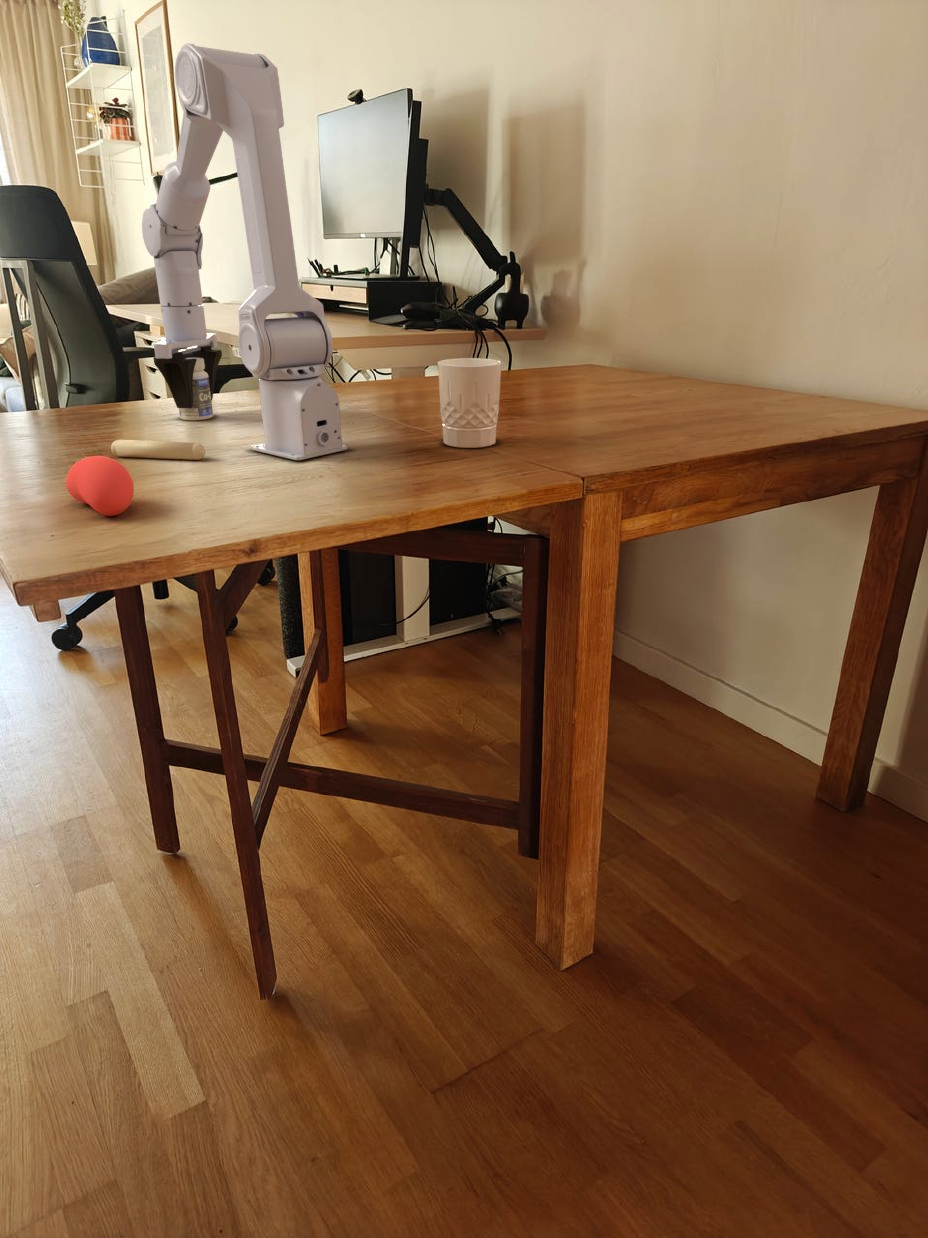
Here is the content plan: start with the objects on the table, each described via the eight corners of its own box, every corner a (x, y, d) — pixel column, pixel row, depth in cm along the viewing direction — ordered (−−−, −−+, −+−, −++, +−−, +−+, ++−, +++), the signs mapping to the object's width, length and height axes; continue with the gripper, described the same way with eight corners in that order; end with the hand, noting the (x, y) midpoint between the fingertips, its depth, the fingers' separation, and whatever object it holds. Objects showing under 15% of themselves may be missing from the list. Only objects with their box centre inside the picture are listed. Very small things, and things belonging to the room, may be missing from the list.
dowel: (208, 460, 100) (208, 443, 99) (200, 460, 98) (200, 442, 97) (117, 456, 102) (116, 439, 101) (107, 456, 100) (107, 439, 99)
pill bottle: (208, 420, 121) (200, 360, 117) (175, 420, 121) (167, 360, 118) (217, 414, 125) (210, 356, 122) (186, 414, 125) (178, 356, 122)
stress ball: (139, 506, 86) (103, 452, 84) (152, 494, 78) (112, 434, 76) (93, 532, 84) (55, 477, 82) (102, 522, 76) (59, 461, 74)
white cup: (506, 438, 109) (507, 358, 105) (492, 451, 102) (493, 366, 98) (449, 434, 111) (448, 357, 107) (431, 447, 104) (429, 364, 100)
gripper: (181, 301, 124) (193, 395, 129) (127, 308, 111) (143, 412, 116) (225, 302, 123) (236, 396, 128) (176, 309, 110) (190, 413, 115)
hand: (195, 404), depth 122 cm, fingers open, 6 cm apart
